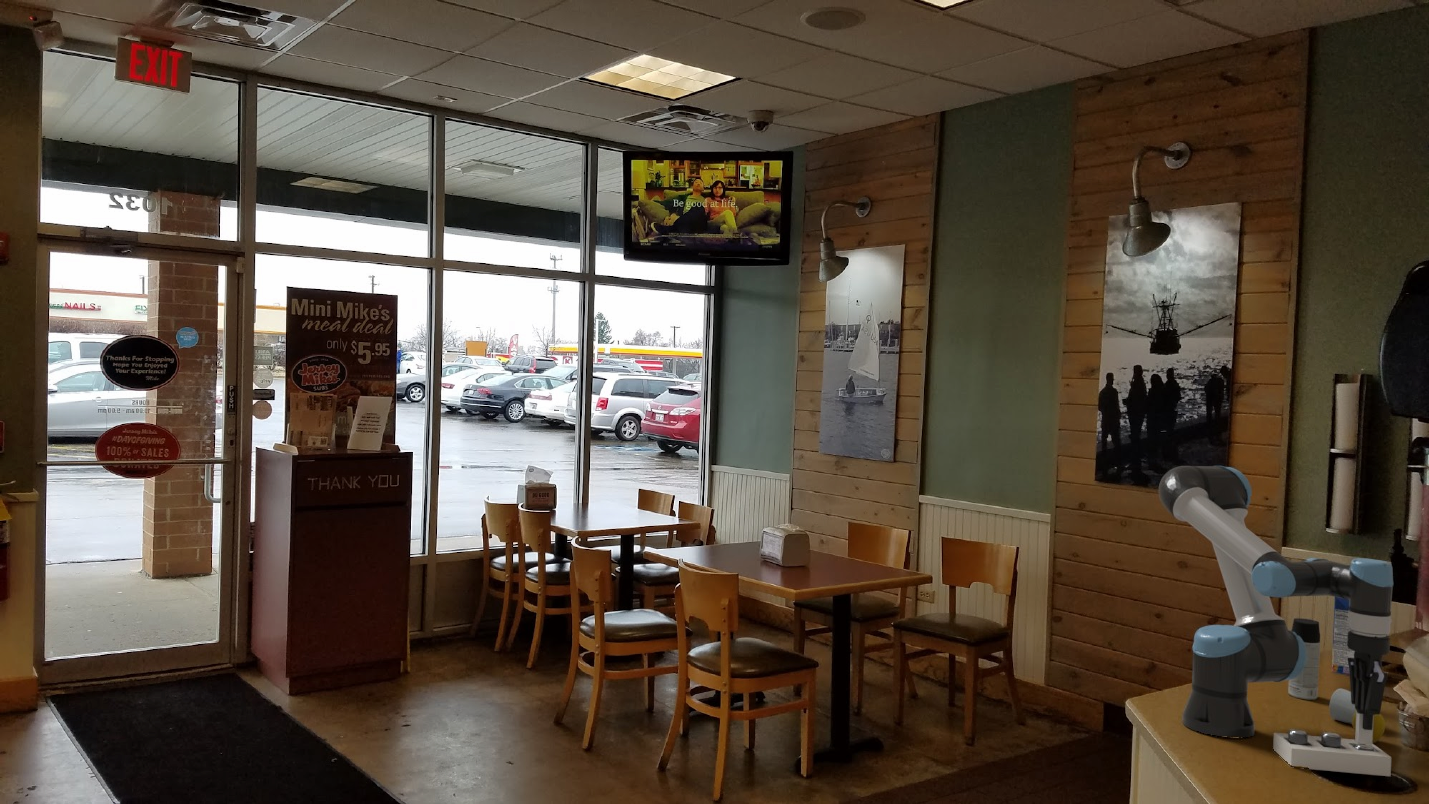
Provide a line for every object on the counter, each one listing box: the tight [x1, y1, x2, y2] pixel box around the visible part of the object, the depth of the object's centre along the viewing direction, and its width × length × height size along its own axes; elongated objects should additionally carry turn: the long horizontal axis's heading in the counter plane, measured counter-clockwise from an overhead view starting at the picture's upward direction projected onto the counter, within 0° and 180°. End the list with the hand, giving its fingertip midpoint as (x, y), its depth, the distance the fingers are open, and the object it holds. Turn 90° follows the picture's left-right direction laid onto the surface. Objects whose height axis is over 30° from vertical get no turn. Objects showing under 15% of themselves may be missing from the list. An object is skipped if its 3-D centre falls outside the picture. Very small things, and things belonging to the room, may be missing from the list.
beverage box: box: [1331, 597, 1355, 676], centre depth 288 cm, size 7×11×22 cm, turn 140°
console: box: [1272, 732, 1392, 777], centre depth 212 cm, size 19×10×4 cm, turn 80°
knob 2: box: [1354, 744, 1374, 752], centre depth 211 cm, size 4×4×4 cm
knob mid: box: [1320, 731, 1342, 749], centre depth 212 cm, size 4×4×4 cm
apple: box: [1351, 712, 1386, 744], centre depth 227 cm, size 6×6×8 cm
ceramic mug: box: [1328, 687, 1357, 725], centre depth 240 cm, size 11×8×8 cm
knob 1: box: [1287, 728, 1309, 746], centre depth 213 cm, size 4×4×4 cm
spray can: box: [1287, 617, 1321, 701], centre depth 261 cm, size 7×7×20 cm
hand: (1363, 742), depth 211 cm, fingers closed
